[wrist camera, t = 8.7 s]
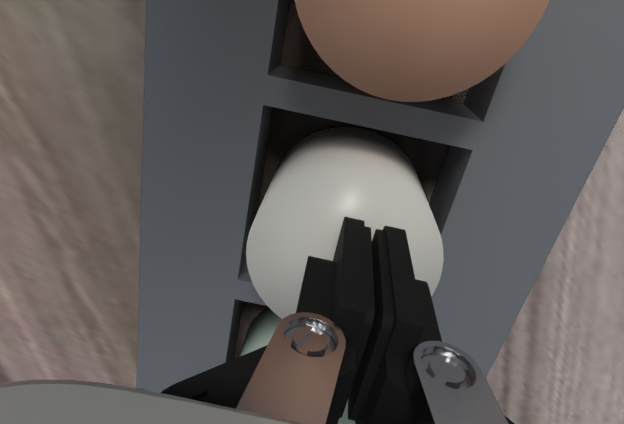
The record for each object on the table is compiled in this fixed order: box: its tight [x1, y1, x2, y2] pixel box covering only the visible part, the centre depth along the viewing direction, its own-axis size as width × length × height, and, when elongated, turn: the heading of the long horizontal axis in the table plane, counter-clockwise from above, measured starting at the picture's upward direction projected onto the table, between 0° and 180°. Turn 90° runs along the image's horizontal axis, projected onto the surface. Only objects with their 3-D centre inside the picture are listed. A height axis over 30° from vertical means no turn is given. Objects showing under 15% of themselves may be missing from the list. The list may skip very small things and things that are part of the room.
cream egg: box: [246, 127, 444, 319], centre depth 14 cm, size 6×6×4 cm
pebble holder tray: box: [136, 0, 624, 393], centre depth 16 cm, size 14×24×2 cm, turn 169°
